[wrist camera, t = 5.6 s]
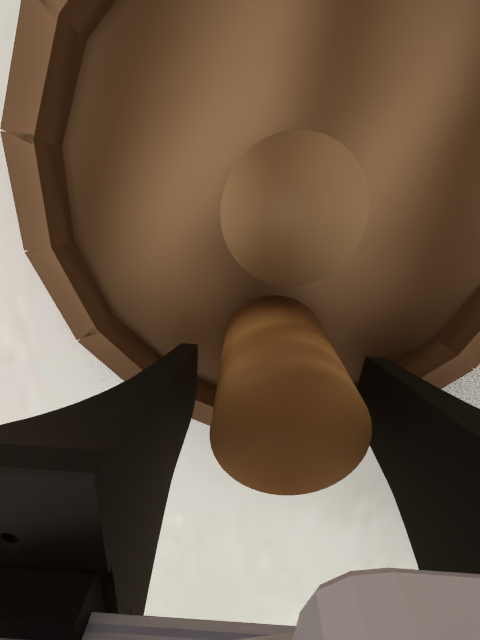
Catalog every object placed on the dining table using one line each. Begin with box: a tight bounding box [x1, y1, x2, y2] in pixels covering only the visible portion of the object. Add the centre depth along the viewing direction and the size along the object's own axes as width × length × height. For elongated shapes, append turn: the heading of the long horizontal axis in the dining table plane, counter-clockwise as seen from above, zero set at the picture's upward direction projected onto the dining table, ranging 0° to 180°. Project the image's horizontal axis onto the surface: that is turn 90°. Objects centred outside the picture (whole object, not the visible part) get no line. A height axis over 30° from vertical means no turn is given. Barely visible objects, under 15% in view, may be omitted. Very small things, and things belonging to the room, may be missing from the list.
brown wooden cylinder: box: [210, 295, 372, 495], centre depth 11 cm, size 4×4×6 cm
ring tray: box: [0, 0, 480, 426], centre depth 11 cm, size 19×19×2 cm
